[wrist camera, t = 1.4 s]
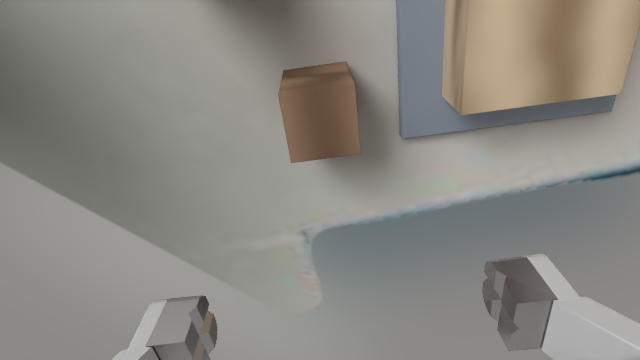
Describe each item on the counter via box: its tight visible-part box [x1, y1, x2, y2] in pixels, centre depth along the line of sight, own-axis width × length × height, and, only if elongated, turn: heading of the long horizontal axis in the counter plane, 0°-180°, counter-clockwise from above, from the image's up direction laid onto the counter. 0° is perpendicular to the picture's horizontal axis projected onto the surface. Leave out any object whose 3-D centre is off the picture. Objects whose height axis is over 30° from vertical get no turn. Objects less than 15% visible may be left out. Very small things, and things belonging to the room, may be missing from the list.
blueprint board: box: [396, 0, 616, 139], centre depth 25 cm, size 16×16×1 cm
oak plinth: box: [442, 0, 640, 115], centre depth 23 cm, size 10×10×5 cm
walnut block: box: [278, 62, 361, 163], centre depth 25 cm, size 4×4×6 cm
